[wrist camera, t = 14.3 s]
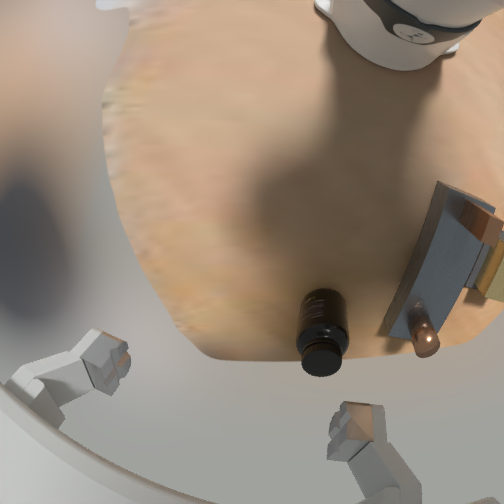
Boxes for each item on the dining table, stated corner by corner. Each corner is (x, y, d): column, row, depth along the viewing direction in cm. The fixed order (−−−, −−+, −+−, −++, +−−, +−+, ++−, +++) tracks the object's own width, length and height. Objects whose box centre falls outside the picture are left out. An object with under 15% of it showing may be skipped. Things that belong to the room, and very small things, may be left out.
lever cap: (494, 235, 30) (507, 247, 26) (513, 244, 29) (526, 255, 26) (473, 282, 33) (484, 297, 30) (493, 288, 33) (504, 302, 29)
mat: (488, 224, 30) (490, 226, 29) (519, 238, 29) (521, 240, 28) (463, 284, 35) (465, 286, 34) (495, 292, 34) (496, 294, 33)
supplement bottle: (355, 309, 40) (361, 368, 30) (318, 330, 43) (314, 389, 33) (328, 278, 39) (329, 335, 29) (291, 302, 42) (280, 360, 32)
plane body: (437, 180, 30) (473, 202, 21) (481, 199, 29) (520, 225, 20) (384, 318, 40) (394, 365, 31) (425, 326, 39) (440, 371, 30)
